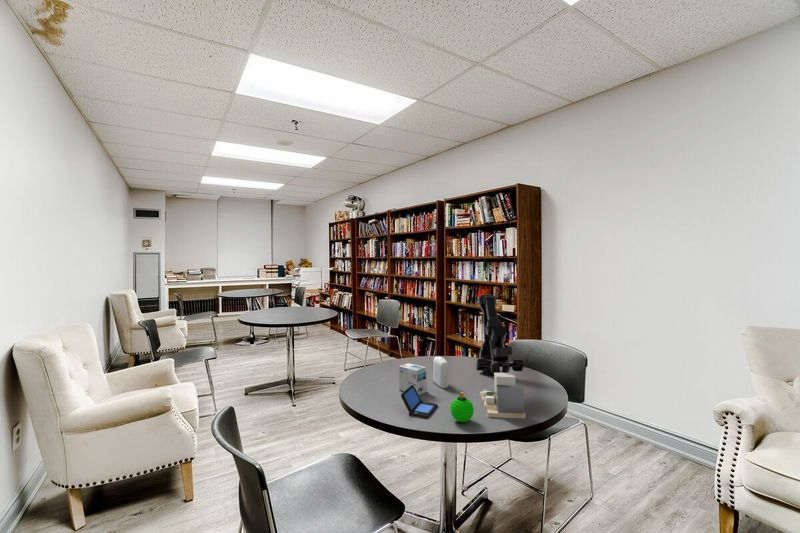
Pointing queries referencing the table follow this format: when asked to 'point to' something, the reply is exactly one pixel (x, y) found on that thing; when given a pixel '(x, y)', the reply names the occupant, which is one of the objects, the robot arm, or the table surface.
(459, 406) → the ornament
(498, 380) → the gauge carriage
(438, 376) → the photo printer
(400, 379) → the light bulb box
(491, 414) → the base
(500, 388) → the grey square block
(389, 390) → the table surface
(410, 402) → the handheld game console
